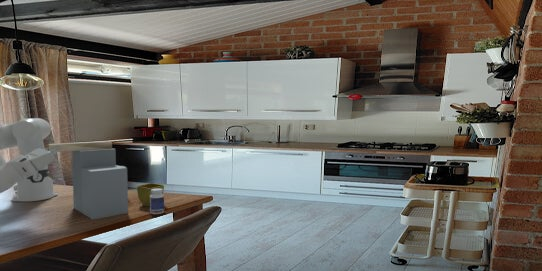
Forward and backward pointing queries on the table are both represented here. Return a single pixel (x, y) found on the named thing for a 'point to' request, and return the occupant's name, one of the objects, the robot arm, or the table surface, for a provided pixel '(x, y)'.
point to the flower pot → (147, 192)
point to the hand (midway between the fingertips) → (58, 146)
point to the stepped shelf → (99, 183)
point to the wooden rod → (82, 146)
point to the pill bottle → (156, 201)
